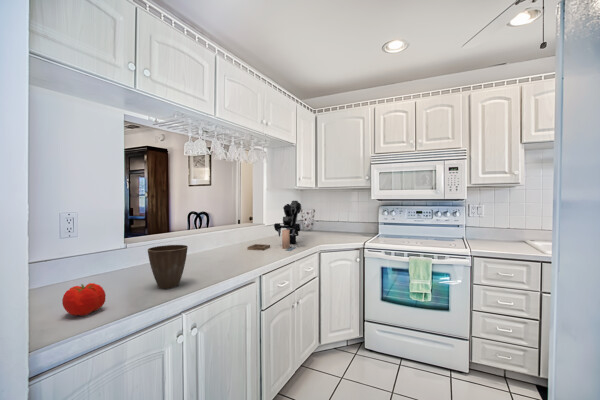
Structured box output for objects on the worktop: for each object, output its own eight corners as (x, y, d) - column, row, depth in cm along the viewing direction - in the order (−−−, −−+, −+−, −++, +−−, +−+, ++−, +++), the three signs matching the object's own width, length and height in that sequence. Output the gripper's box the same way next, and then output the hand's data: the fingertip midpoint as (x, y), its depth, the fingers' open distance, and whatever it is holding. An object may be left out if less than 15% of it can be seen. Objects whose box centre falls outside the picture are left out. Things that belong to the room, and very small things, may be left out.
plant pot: (139, 289, 110) (138, 249, 110) (170, 279, 124) (170, 243, 124) (166, 294, 104) (165, 252, 104) (195, 283, 118) (195, 245, 118)
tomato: (57, 323, 81) (57, 293, 81) (70, 309, 91) (69, 283, 91) (101, 316, 85) (101, 288, 85) (108, 304, 95) (108, 278, 95)
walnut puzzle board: (255, 247, 203) (255, 244, 203) (270, 248, 199) (270, 244, 199) (247, 250, 191) (247, 246, 191) (263, 251, 188) (263, 247, 188)
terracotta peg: (281, 247, 198) (281, 229, 198) (288, 247, 199) (288, 229, 199) (283, 249, 193) (283, 230, 193) (290, 248, 194) (290, 230, 194)
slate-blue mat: (281, 247, 203) (281, 246, 203) (295, 248, 200) (295, 247, 200) (275, 250, 192) (275, 249, 192) (290, 250, 189) (290, 250, 189)
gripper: (274, 212, 202) (270, 229, 191) (299, 212, 199) (297, 229, 188) (277, 222, 210) (273, 238, 199) (301, 222, 206) (299, 239, 196)
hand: (285, 236), depth 195 cm, fingers open, 9 cm apart
